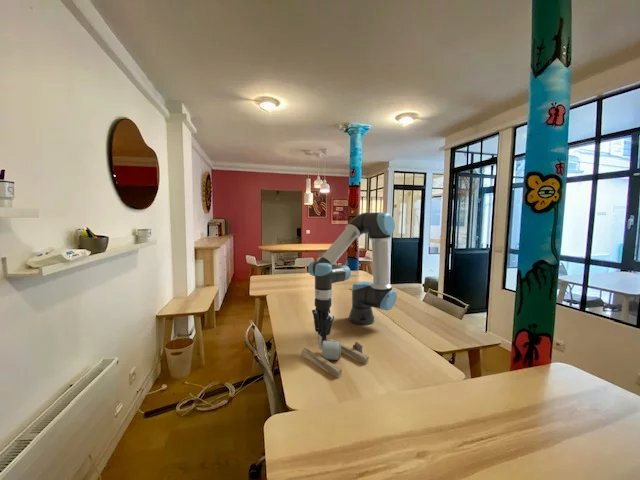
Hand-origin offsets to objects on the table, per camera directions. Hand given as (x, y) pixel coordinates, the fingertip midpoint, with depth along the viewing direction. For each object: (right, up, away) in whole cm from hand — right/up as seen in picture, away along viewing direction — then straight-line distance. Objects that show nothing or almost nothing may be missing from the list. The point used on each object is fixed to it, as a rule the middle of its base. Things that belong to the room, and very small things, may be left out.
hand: (322, 348), depth 130 cm
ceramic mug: (+4, -3, -4) cm, 6 cm away
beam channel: (+7, -2, -5) cm, 9 cm away
